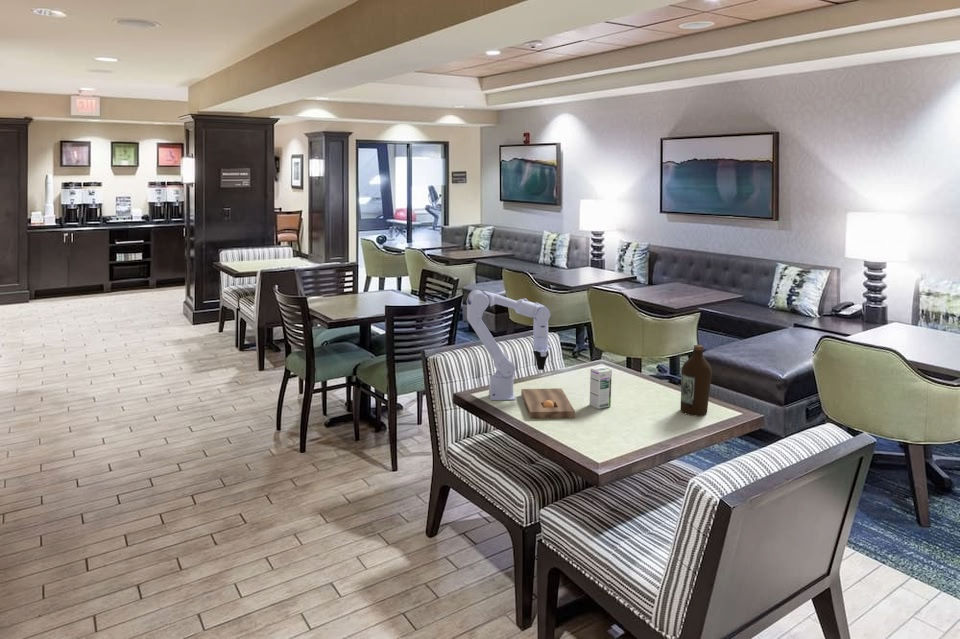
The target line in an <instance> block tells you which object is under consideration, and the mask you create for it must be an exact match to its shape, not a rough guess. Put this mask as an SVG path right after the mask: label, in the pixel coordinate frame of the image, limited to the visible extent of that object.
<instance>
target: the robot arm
mask: <svg viewBox="0 0 960 639" xmlns="http://www.w3.org/2000/svg"><path fill="white" fill-rule="evenodd" d="M495 305H498V306H502V307H506V308H510V309H513V310H514V311H515V313H516V314H518V315H522V316H524V317H528V318H531V319H532V318H533V327H532V328H533V340H532V342H533V343H532V344H533V346H532V350H533V351H532V352H533V354H534V358H535V361H536V367H537V370H538V371H544V369H545V365H546V362H547V359H548V356H549V354H550V353H549V351H548V350H550V349H551V350H552V346H551V345H549V319H550V318H551V314H552V313H550V309H549V308H548V307H546V305H543V304H541V303H539V302H533V301H530V300H528V299H527V298H525V297H523V298H519V299H517V300H514V299H512V298H508V297H506V296H504V295H501V294H498V293H494V292H491V291H487V290H483V291H482V290H481V289H477V288H476V289H473V290H471V291H470V292H469V294H468V295H467V299H466V309H467V310H466V315H467V316H466V319H467V321H468V323H469V324H470V326H471V327H472V329H473V330H474V332H475V334H476V335H477V336H478V338H479V340H480V341H481V343H482V345H483V346H484V348H485V349H486V351H487V352H488V354H489V355H490V357H491V359H492V361H493V364H494V365H493V366H494V368H495V369H496V371H495V373H494V374H492V375H489V388H488V394H489V398H490V400H491V401H515V400H516V396H515V393H514V379H515V378H514V375H515V372H516V365H515V364H514V363H513V362H512V361H511V360H510V359H509V357H507V356H506V355H505V353H504V352H503V350H502V349H501V347H500V345H499V344H498V343H497V341H496V340H495V337H494V336H493V335H492V333H491V332H490V330H489V329H488V327H487V325H486V324H485V323H484V321H483V319H482V318H483V315H484V312H485V311H486V309H487V308H488V307H492V306H495Z"/></svg>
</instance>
